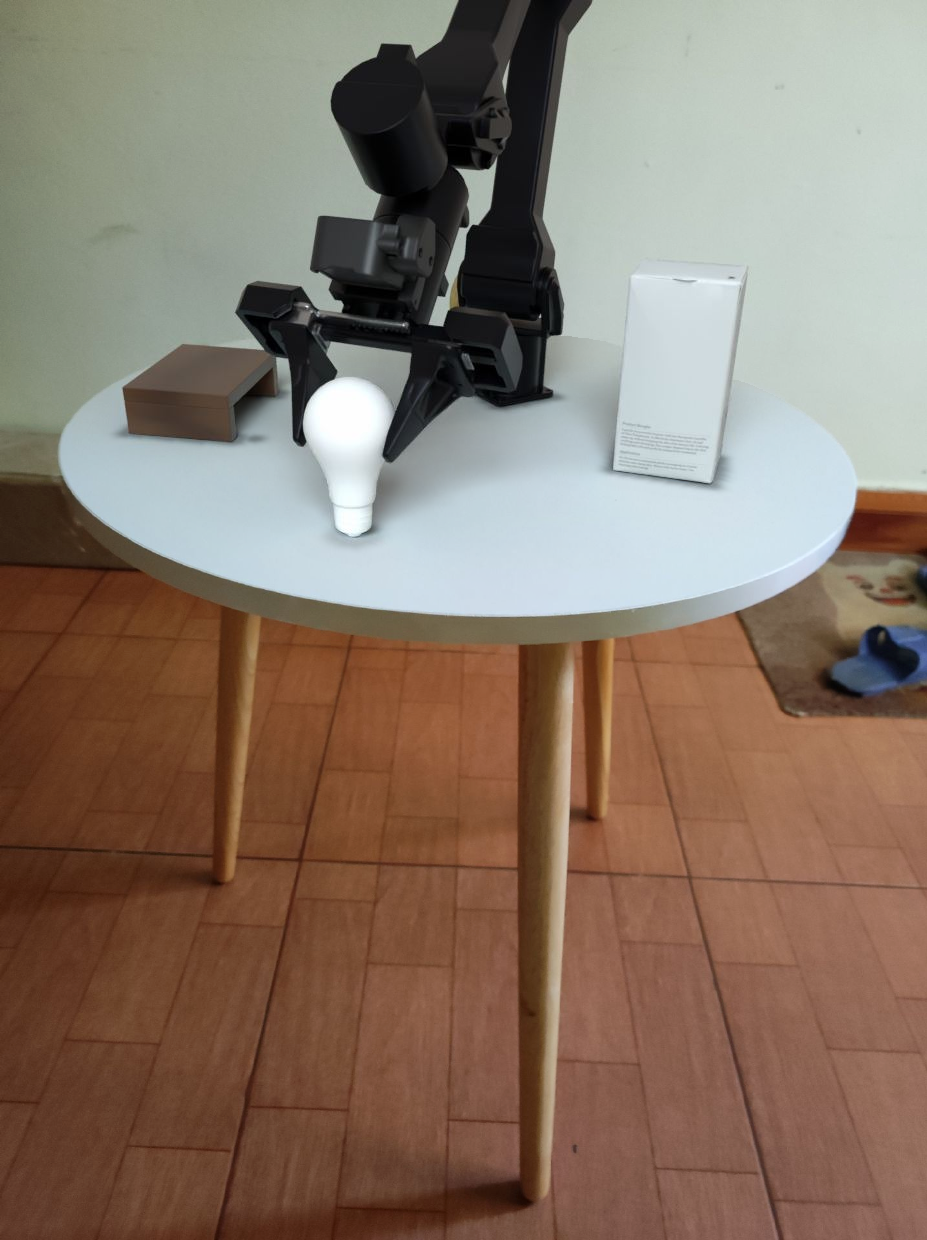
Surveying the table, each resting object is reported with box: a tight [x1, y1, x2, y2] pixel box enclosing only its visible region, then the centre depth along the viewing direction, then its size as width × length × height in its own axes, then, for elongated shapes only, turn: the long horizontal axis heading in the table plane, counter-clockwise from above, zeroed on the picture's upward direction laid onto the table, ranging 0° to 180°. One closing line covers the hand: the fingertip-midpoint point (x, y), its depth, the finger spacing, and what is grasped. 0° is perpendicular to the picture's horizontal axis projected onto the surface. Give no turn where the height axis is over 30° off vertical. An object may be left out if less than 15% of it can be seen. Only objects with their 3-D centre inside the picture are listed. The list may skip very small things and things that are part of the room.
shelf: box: [122, 343, 280, 443], centre depth 88 cm, size 9×13×4 cm
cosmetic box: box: [612, 257, 749, 484], centre depth 77 cm, size 8×7×16 cm
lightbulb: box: [303, 376, 396, 538], centre depth 66 cm, size 6×6×11 cm
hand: (341, 451), depth 64 cm, fingers closed on lightbulb, 6 cm apart
